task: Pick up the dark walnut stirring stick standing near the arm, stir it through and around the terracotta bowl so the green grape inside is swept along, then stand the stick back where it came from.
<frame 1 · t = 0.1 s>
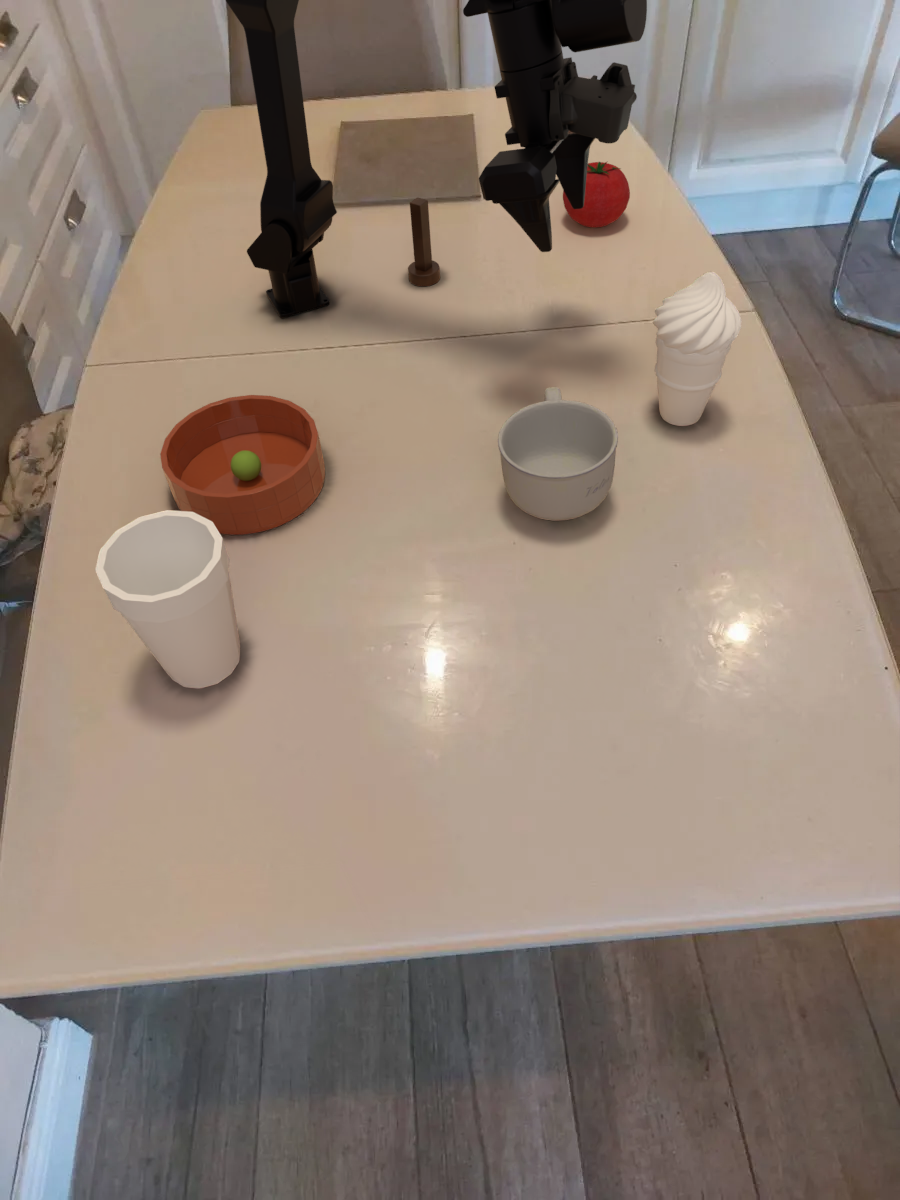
hand: (563, 229, 92), 15 cm above the table, tool pointing down, fingers open, 9 cm apart
teacup: (556, 488, 90), on the table
tomato: (594, 222, 123), on the table
grape: (245, 465, 91), point 2 cm above the table, touching bowl
bowl: (250, 481, 92), on the table
stir stick: (424, 278, 116), on the table
foam cup: (204, 659, 78), on the table
ice cream cone: (679, 415, 96), on the table
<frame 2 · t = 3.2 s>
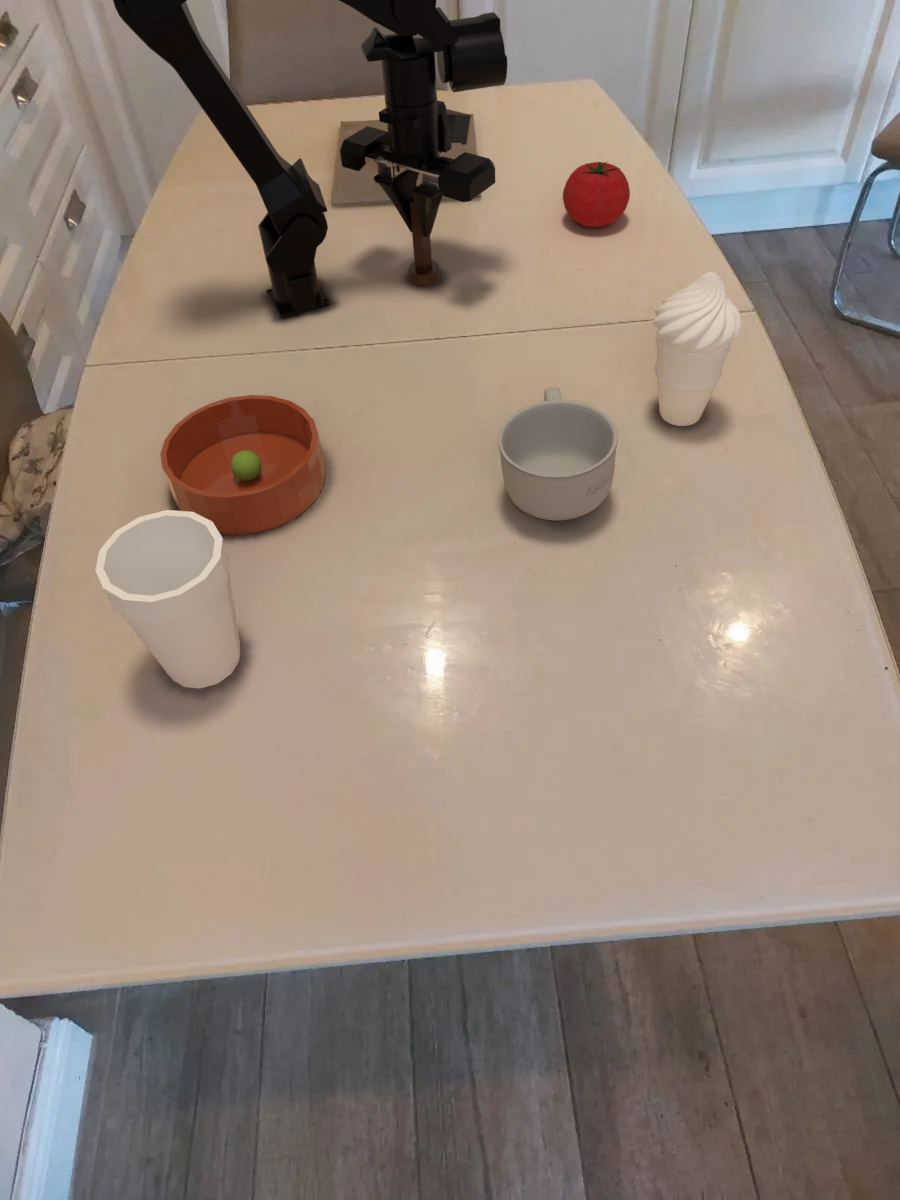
hand: (421, 233, 111), 6 cm above the table, tool pointing down, fingers closed on stir stick, 2 cm apart
stir stick: (424, 278, 116), on the table, touching gripper
everything else where it was.
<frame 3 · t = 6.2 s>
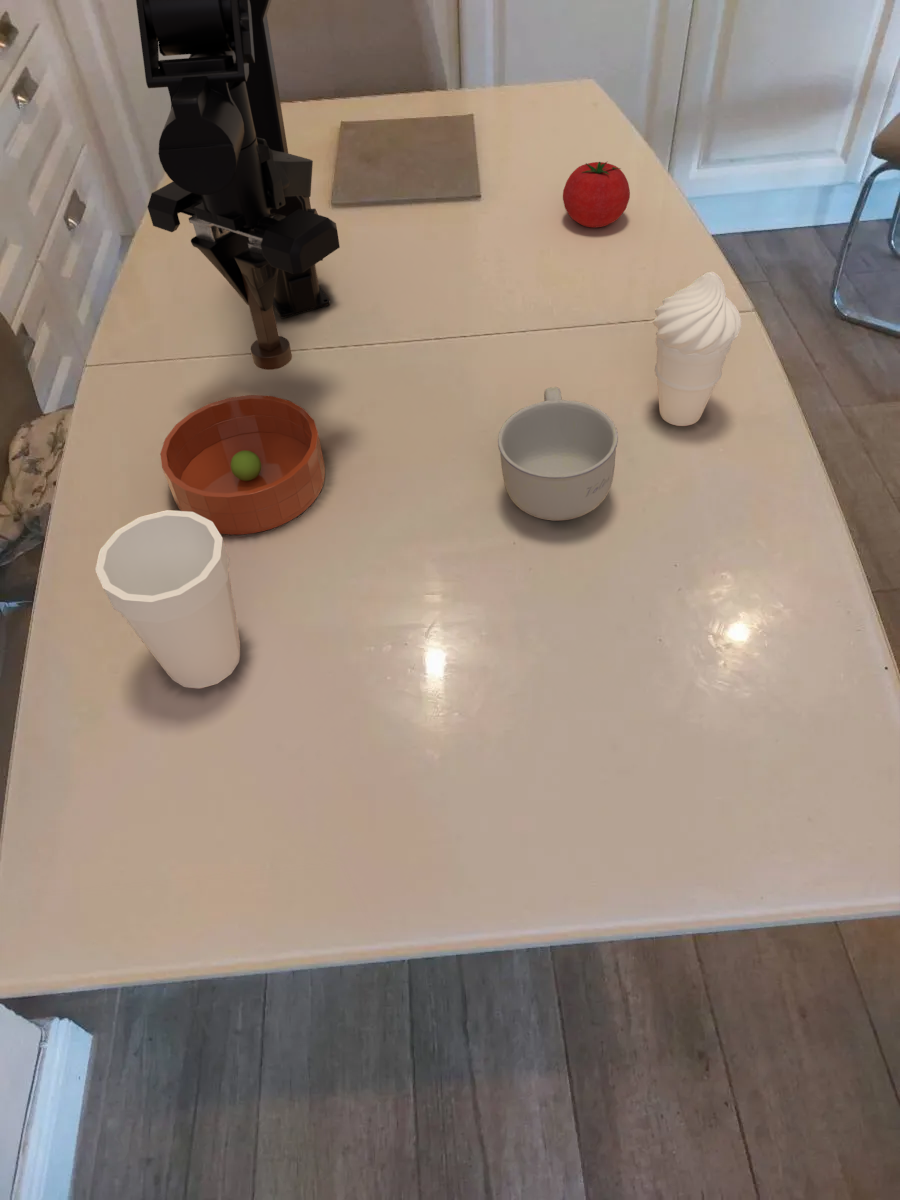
hand: (260, 306, 89), 13 cm above the table, tool pointing down, fingers closed on stir stick
stir stick: (272, 358, 93), point 7 cm above the table, touching gripper
everything else where it was.
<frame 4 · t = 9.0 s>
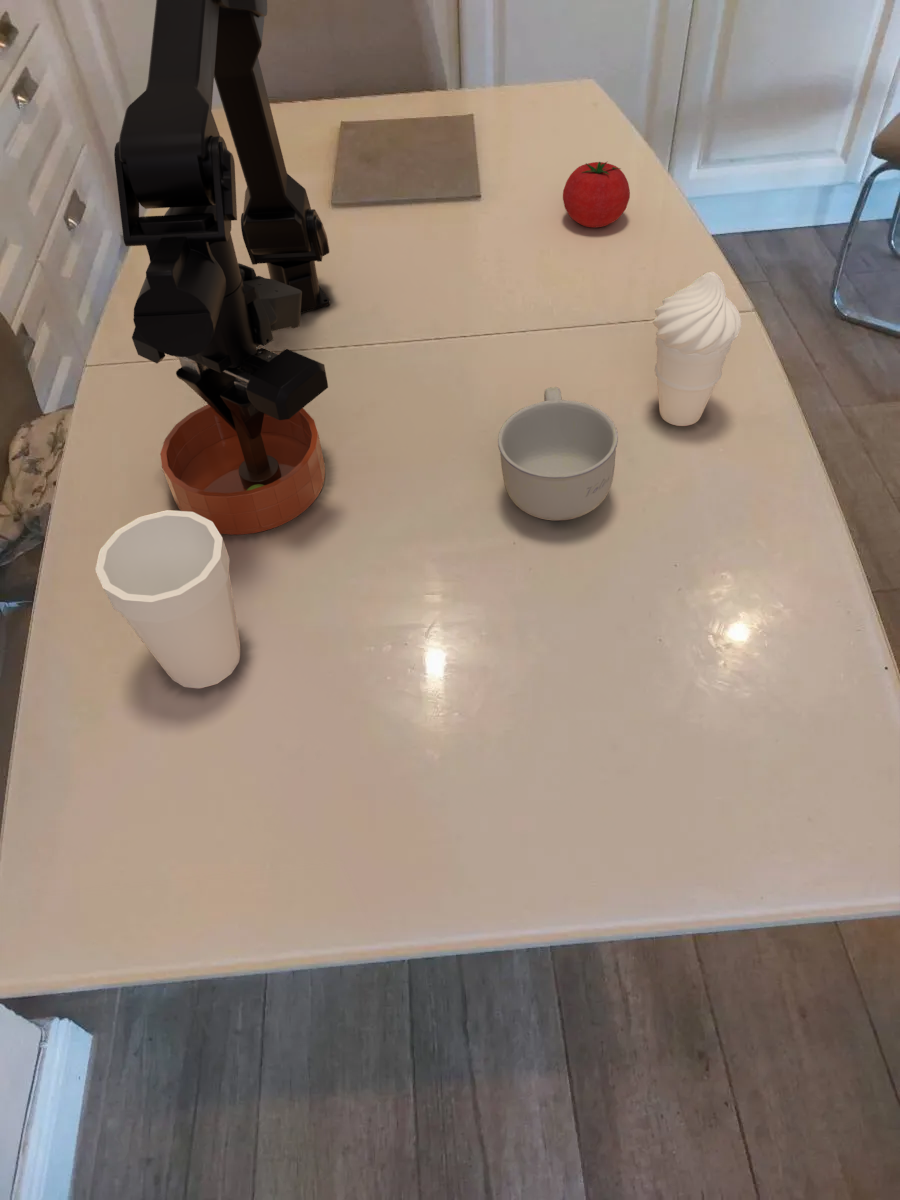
hand: (248, 432, 87), 7 cm above the table, tool pointing down, fingers closed on stir stick, 2 cm apart
grape: (259, 500, 87), point 2 cm above the table, tilted 152°, touching bowl
stir stick: (261, 478, 91), point 1 cm above the table, touching gripper
everything else where it was.
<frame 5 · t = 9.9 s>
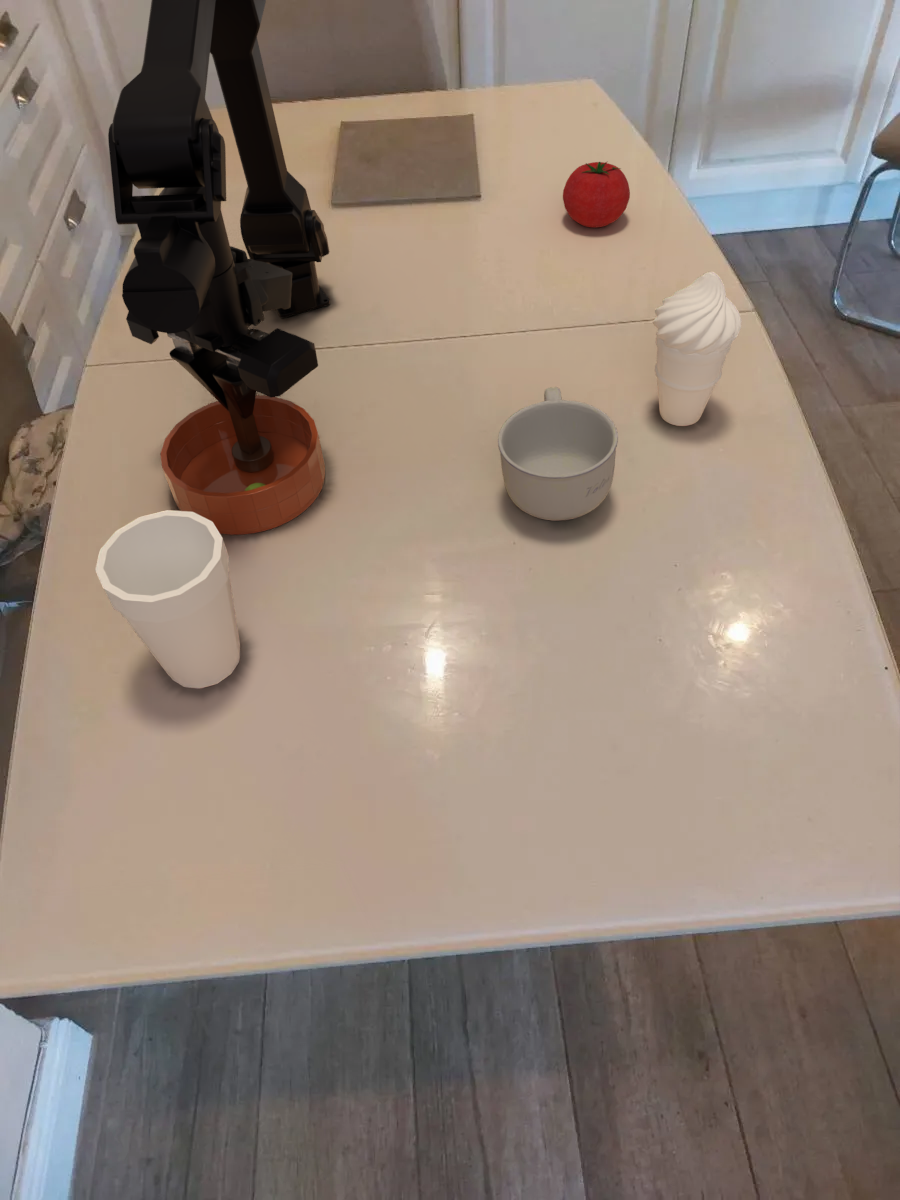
hand: (240, 412, 88), 7 cm above the table, tool pointing down, fingers closed on stir stick, 2 cm apart
grape: (258, 498, 87), point 2 cm above the table, tilted 161°, touching bowl
stir stick: (254, 459, 93), point 1 cm above the table, touching gripper
everything else where it was.
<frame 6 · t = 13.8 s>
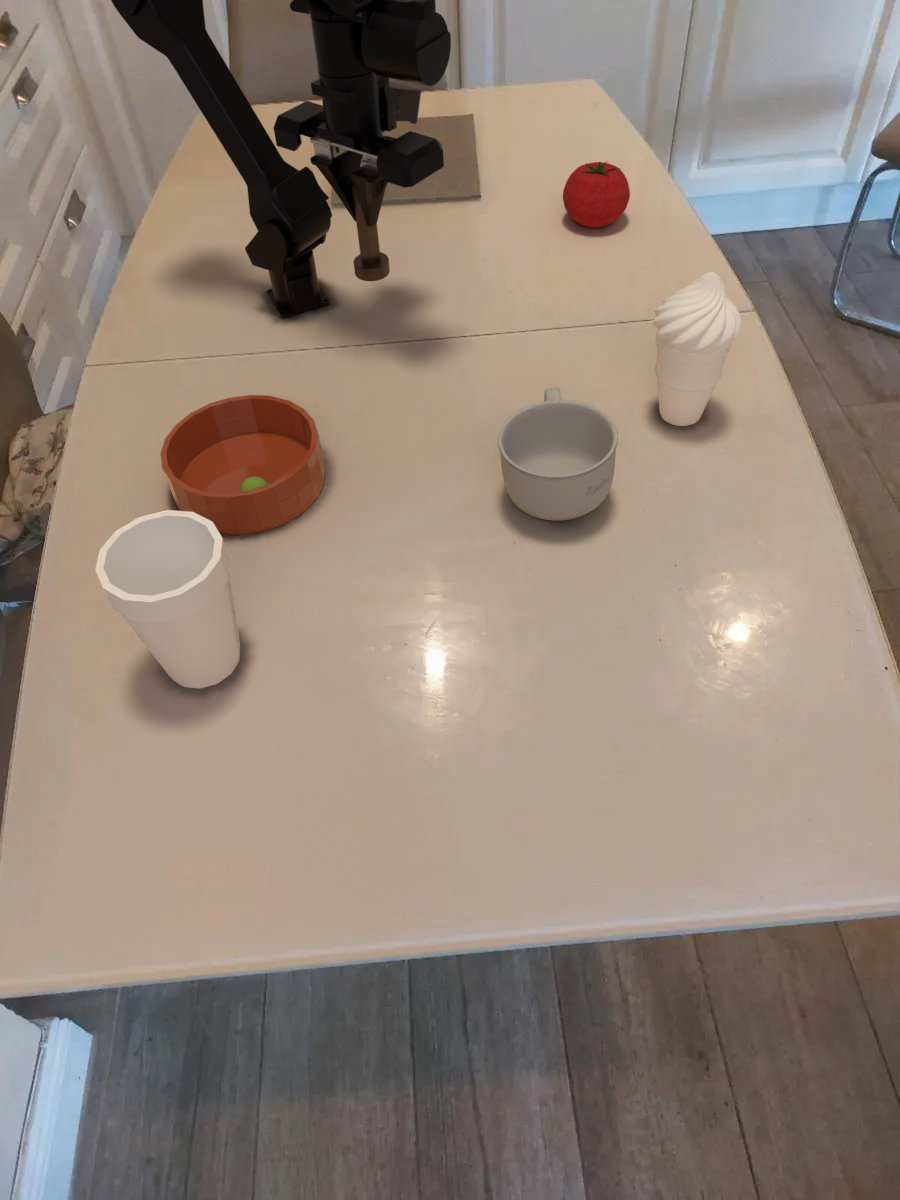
hand: (366, 222, 99), 13 cm above the table, tool pointing down, fingers closed on stir stick
grape: (255, 492, 88), point 2 cm above the table, tilted 161°, touching bowl
stir stick: (372, 272, 104), point 7 cm above the table, touching gripper
everything else where it was.
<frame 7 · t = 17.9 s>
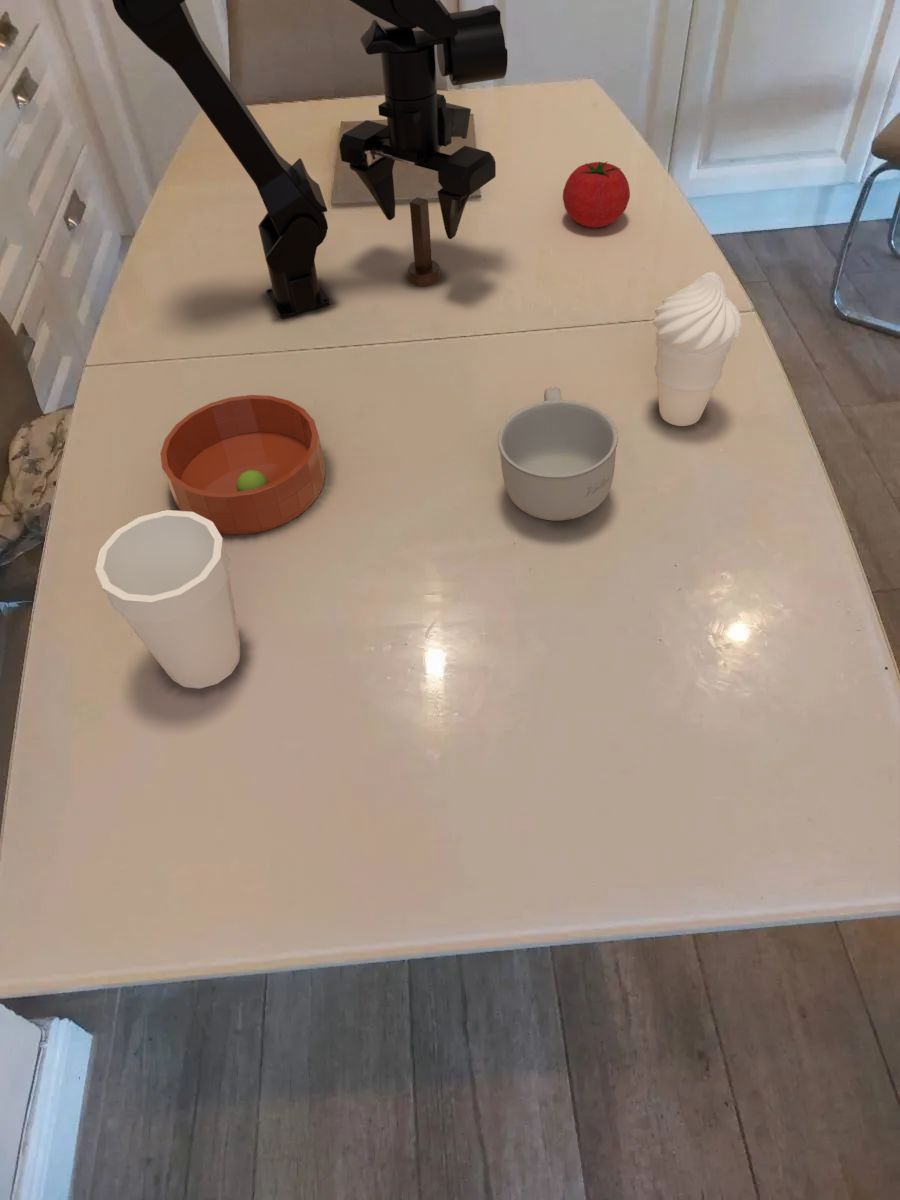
hand: (421, 227, 111), 7 cm above the table, tool pointing down, fingers open, 9 cm apart
grape: (252, 485, 89), point 2 cm above the table, tilted 120°, touching bowl
stir stick: (424, 277, 116), on the table
everything else where it was.
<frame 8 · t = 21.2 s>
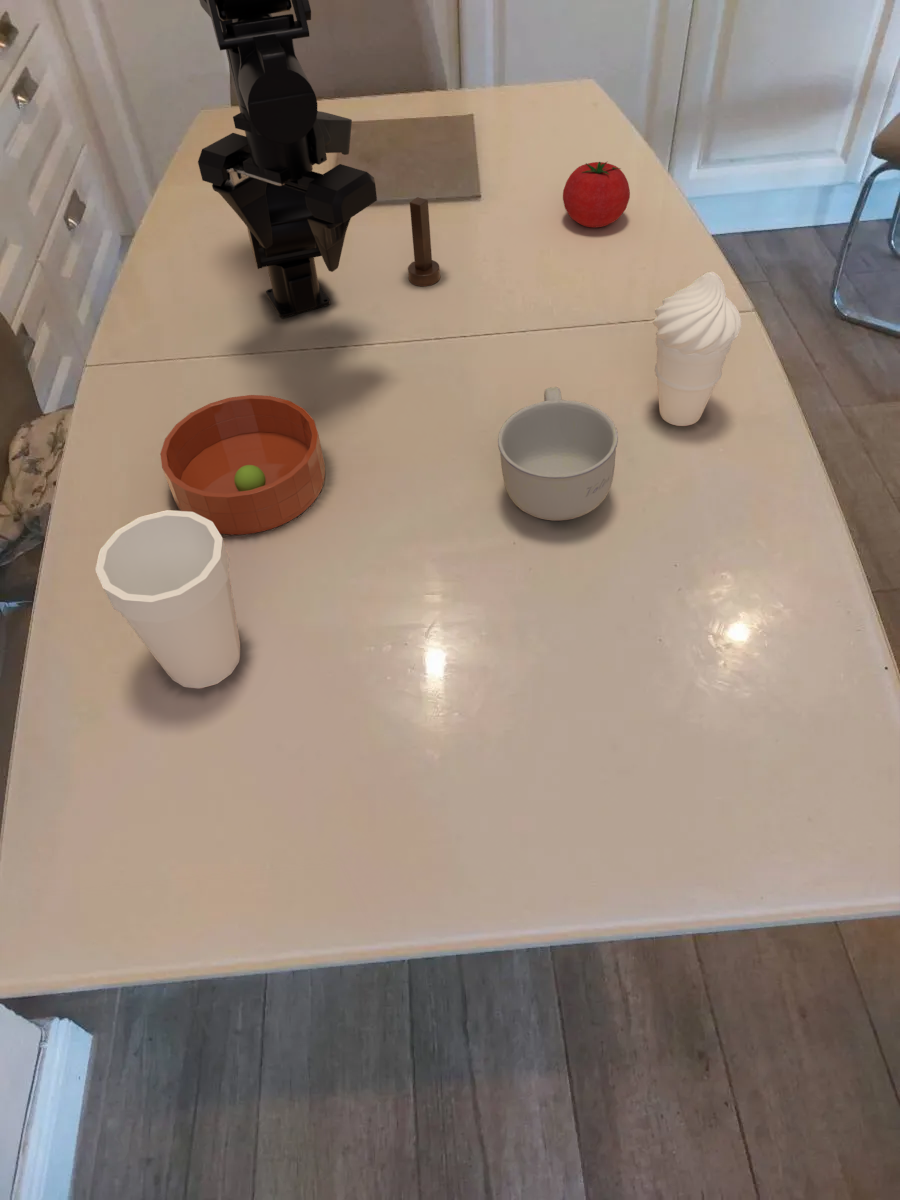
hand: (300, 257, 95), 13 cm above the table, tool pointing down, fingers open, 9 cm apart
grape: (250, 480, 89), point 2 cm above the table, tilted 88°, touching bowl
everything else where it was.
at the end: grape moved 2.3 cm from its start; grape inside the target area in the bowl (2.3 cm from its centre), point 2.1 cm above the bowl's base; stir stick inside the target area (0.1 cm from its centre), on the table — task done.
